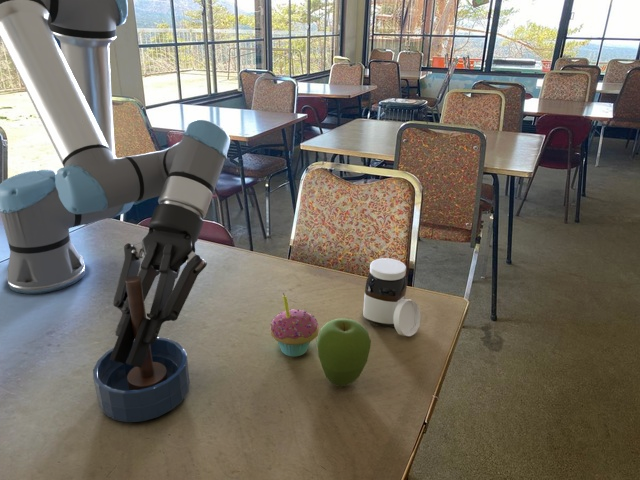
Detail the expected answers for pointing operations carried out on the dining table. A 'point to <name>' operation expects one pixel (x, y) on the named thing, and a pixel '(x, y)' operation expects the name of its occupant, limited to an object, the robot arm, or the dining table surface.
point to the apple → (343, 350)
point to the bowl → (145, 401)
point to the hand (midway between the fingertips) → (125, 363)
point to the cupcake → (294, 330)
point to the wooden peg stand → (150, 370)
